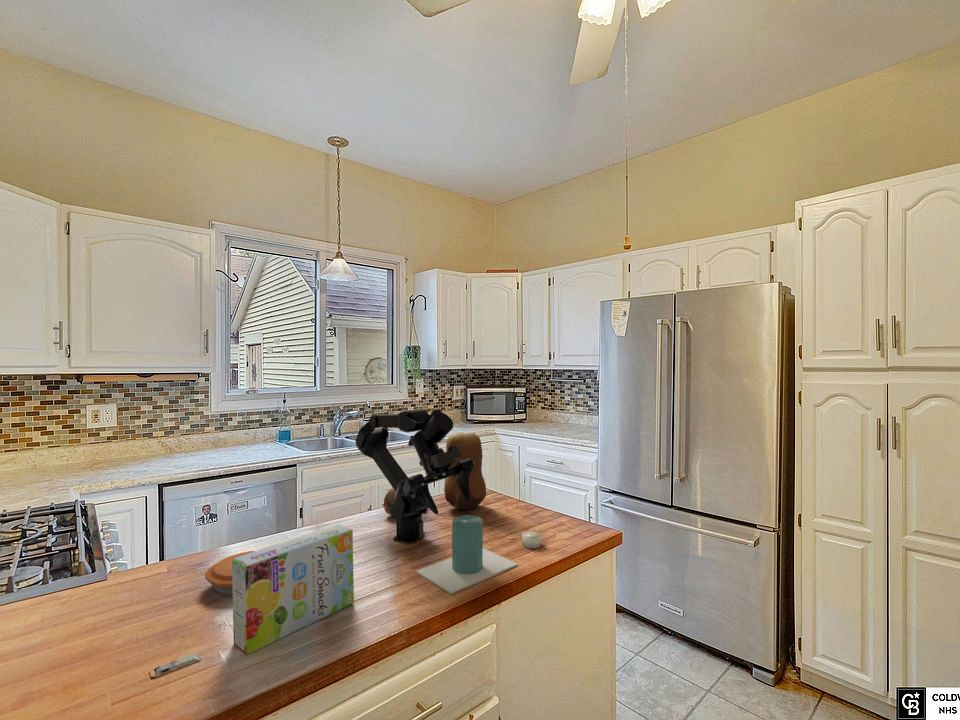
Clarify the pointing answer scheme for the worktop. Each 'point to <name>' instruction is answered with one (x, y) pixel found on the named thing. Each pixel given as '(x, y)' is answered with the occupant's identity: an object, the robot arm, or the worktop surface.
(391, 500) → the tin
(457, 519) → the teal cover
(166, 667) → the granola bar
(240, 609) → the snack box
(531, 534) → the cream bowl
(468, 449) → the butternut squash
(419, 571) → the grey mat
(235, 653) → the worktop surface
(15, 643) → the worktop surface
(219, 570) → the pie
